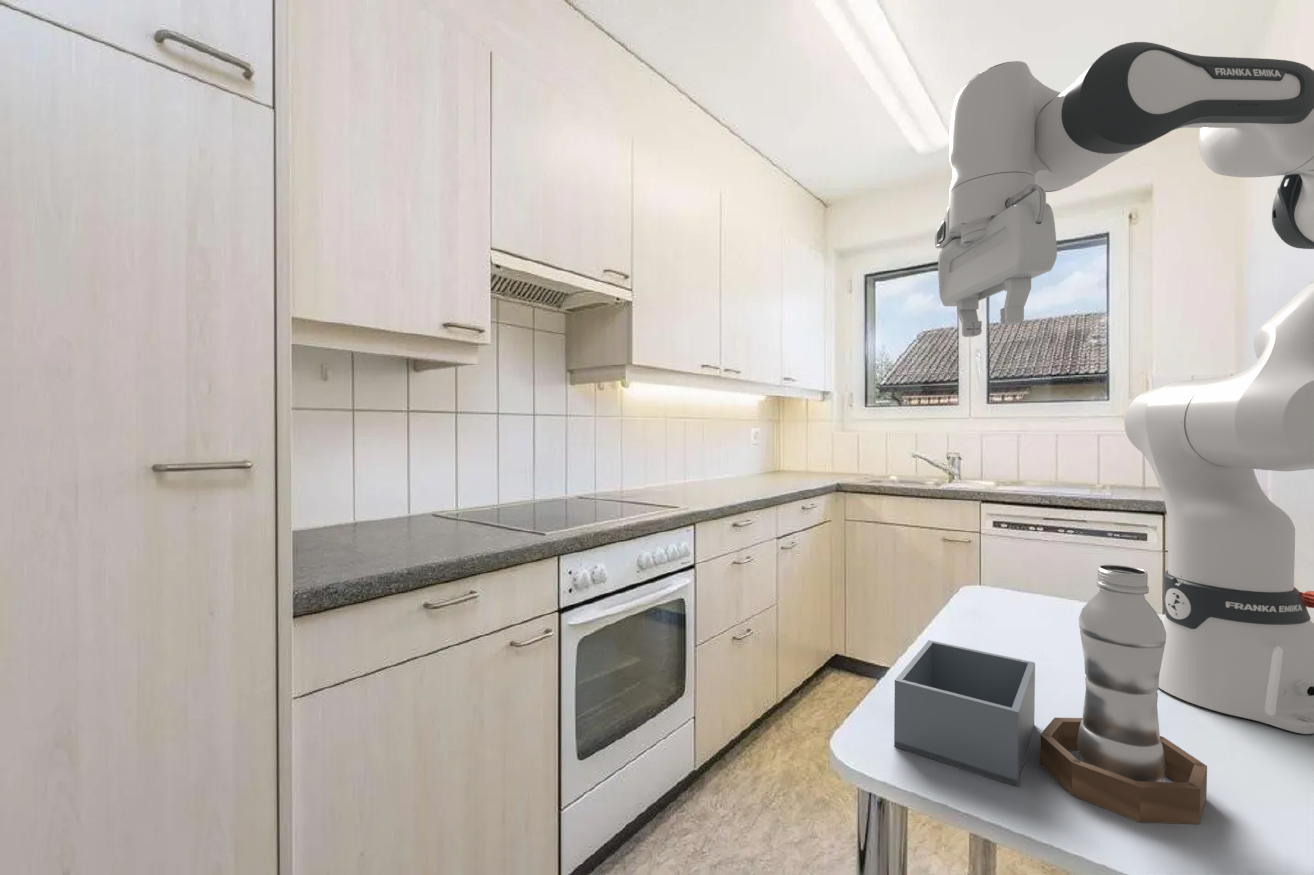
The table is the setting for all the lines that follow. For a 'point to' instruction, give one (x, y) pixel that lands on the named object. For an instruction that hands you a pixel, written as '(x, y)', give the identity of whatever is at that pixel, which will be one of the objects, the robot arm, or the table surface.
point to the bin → (966, 709)
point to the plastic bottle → (1122, 677)
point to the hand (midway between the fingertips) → (990, 330)
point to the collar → (1126, 780)
